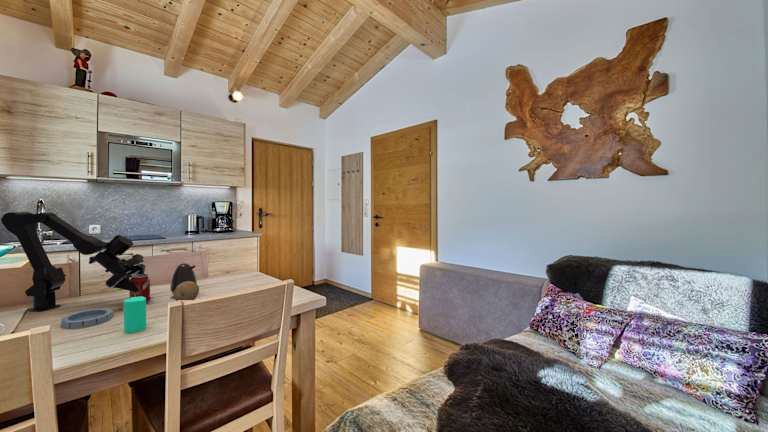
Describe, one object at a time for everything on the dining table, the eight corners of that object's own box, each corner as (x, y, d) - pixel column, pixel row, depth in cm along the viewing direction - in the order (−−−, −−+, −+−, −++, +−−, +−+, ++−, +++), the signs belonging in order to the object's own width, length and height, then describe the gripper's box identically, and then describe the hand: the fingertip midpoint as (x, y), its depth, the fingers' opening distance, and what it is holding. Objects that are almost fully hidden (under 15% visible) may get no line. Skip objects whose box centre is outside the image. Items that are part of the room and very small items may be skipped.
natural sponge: (181, 309, 120) (180, 285, 119) (168, 305, 124) (168, 282, 123) (203, 303, 128) (203, 280, 127) (191, 299, 132) (191, 277, 131)
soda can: (138, 306, 122) (138, 278, 121) (125, 305, 123) (125, 276, 122) (154, 301, 128) (154, 274, 127) (141, 300, 129) (141, 273, 129)
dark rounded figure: (187, 299, 131) (187, 266, 131) (164, 299, 132) (164, 265, 131) (202, 292, 142) (202, 261, 141) (180, 292, 142) (180, 260, 141)
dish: (50, 326, 102) (50, 320, 102) (94, 312, 114) (94, 307, 114) (80, 330, 99) (80, 324, 99) (121, 316, 112) (121, 310, 112)
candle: (127, 334, 98) (127, 298, 97) (120, 329, 101) (120, 295, 100) (149, 328, 103) (149, 294, 102) (142, 323, 106) (142, 291, 105)
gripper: (114, 253, 114) (148, 280, 118) (140, 245, 132) (168, 269, 136) (90, 274, 113) (125, 300, 116) (119, 263, 130) (148, 286, 134)
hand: (143, 287), depth 126 cm, fingers open, 9 cm apart
